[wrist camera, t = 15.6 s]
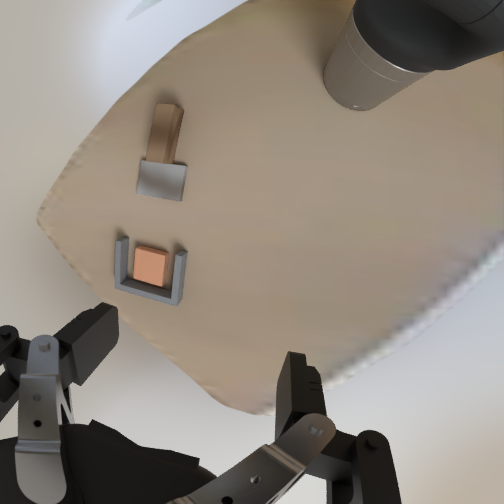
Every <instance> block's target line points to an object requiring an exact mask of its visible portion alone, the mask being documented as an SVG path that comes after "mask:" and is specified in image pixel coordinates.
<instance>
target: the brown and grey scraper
mask: <svg viewBox="0 0 504 504" xmlns="http://www.w3.org/2000/svg"><path fill="white" fill-rule="evenodd" d="M183 114H184V110H183V109H181V108H179V107H178V106H176V105H174V104H157V106H156V110H155V115H154V119H153V124H152V129H151V134H150V139H149V144H148V149H147V155H146V161H145V160H141V166H140V172H139V179H138V186H137V194H140V195H146V196H152V197H158V198H163V199H169V200H174V201H182V197H183V190H184V184H185V178H186V173H187V167H188V166H182V165H176V164H174V158H175V153H176V147H177V142H178V137H179V132H180V127H181V123H182V118H183Z"/></svg>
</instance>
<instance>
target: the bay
mask: <svg viewBox="0 0 504 504" xmlns="http://www.w3.org/2000/svg"><path fill="white" fill-rule="evenodd" d="M128 247H129V238H127V237H122V238H120V239H118V240H116V248H115V288H116V289H119V290H122V291H125V292H128V293H132V294H135V295H138V296H142V297H145V298H149V299H152V300H156V301H159V302H163V303H166V304H170V305H173V306H178V304H179V303H180V301H181V300H182V294H183V285H184V276H185V268H186V260H187V251H183V250H181V251H180V252H178V253H177V254H176V256H175V264H174V274H173V284H172V291H170V290H166V289H162V288H159V287H155V286H151V285H148V284H144V283H140V282H137V281H133V280H130V279H127V266H128Z"/></svg>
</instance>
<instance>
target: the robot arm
mask: <svg viewBox="0 0 504 504" xmlns="http://www.w3.org/2000/svg"><path fill="white" fill-rule="evenodd" d="M501 51H504V0H356V2H355V4H354V6H353V9H352V11H351V13H350V15H349V17H348V19H347V22H346V24H345V26H344V28H343V30H342V33H341V35H340V37H339V39H338V41H337V43H336V45H335V48H334V50H333V52H332V54H331V56H330V58H329V60H328V63H327V65H326V67H325V70H324V83H325V86H326V88H327V90H328V92H329V94H330V95H331V96H332V97H333V99H335V100H336V101H337V102H338V103H339V104H341V105H343V106H344V107H346V108H349V109H352V110H357V111H365V110H370V109H372V108H374V107H376V106H378V105H379V104H381V103H382V102H384V101H386V100H387V99H389V98H390V97H392V96H393V95H395V94H397V93H398V92H400V91H401V90H403V89H405V88H406V87H408V86H409V85H411V84H413V83H414V82H416V81H418V80H419V79H421V78H423V77H424V76H426V75H427V74H429V73H431V72H432V71H434V70H451V69H454V68H457V67H459V66H462V65H464V64H467V63H469V62H472V61H475V60H478V59H480V58H483V57H486V56H489V55H492V54H495V53H498V52H501ZM118 326H119V325H118V309H117V307H115V306H113V305H110V304H107V303H104V302H102V303H100V304H99V305H98V306H96V307H95V308H94V309H89V310H86V311H83V312H81V313H80V314H79V315H78V316H77V317H76V318H74V319H73V320H72V321H71V322H70V323H68V324H67V325H66V326H64V327H63V328H62V329H61V330H60V331H58V332H57V333H56V334H55V335H53V336H50V335H40V336H37V337H35V338H34V339H32V341H30V340H26V339H22V338H20V337H19V333H18V330H17V329H16V328H15V327H13V326H10V325H4V326H1V327H0V366H1V365H2V364H3V365H4V368H5V371H4V372H3V373H2V375H0V422H1V420H2V419H3V418H4V417H5V415H6V414H7V413H8V412H9V411H10V409H11V408H12V407H13V406H14V404H15V403H16V402H17V401H18V436H17V437H13V438H8V439H3V440H0V504H275V503H276V502H277V501H278V500H279V499H280V498H281V497H282V496H283V495H284V494H285V493H286V492H287V491H289V490H290V489H291V487H293V486H294V485H295V484H296V483H297V482H298V481H299V480H300V479H301V478H302V477H303V476H304V475H305V474H309V475H312V476H315V477H319V478H322V479H325V480H326V482H327V504H401V498H400V492H399V487H398V482H397V477H396V472H395V467H394V463H393V459H392V454H391V450H390V445H389V442H388V440H387V438H386V437H385V436H384V435H382V434H381V433H379V432H377V431H373V430H366V431H363V432H361V433H360V434H359V435H358V436H354V435H350V434H347V433H344V432H341V431H339V430H337V429H336V427H335V424H334V423H333V421H332V420H331V419H329V418H328V417H327V415H326V408H325V401H324V395H323V392H322V391H323V389H322V385H321V384H322V383H321V377H320V374H319V372H318V371H317V370H316V368H315V367H313V366H307V363H306V355H305V354H302V353H296V352H290V351H289V352H288V353H287V355H286V358H285V361H284V364H283V367H282V370H281V373H280V375H279V379H278V383H277V392H276V422H275V423H276V424H275V442H273V443H272V444H271V445H267V444H265V445H263V446H262V447H260V448H258V449H257V450H256V451H254V452H253V453H252V454H250V455H249V456H248V457H246V458H245V459H244V460H242V461H241V462H239V463H238V464H237V465H235V466H234V467H232V468H231V469H229V470H228V471H226V472H225V473H223V474H222V475H220V476H219V477H216V476H215V475H214V474H213V473H211V472H210V471H208V470H207V469H205V468H203V467H201V466H199V460H200V458H197V457H193V456H189V455H185V454H182V453H178V452H175V451H172V450H163V449H155V448H148V447H142V446H139V445H137V444H136V443H134V442H133V441H131V440H129V439H128V438H127V437H125V436H124V435H122V434H121V433H119V432H118V431H117V430H115V429H112V428H110V427H108V426H105V425H104V424H101V423H99V422H97V421H95V420H93V419H92V421H91V422H90V423H89V425H84V424H75V422H74V417H73V409H72V400H71V391H70V386H69V385H70V384H71V383H72V382H74V383H76V384H77V385H79V386H81V385H82V384H83V383H84V382H85V380H87V378H88V377H89V376H90V375H91V373H92V372H93V371H94V370H95V369H96V368H97V366H98V365H99V364H100V362H102V360H103V359H104V358H105V357H106V356H107V355H108V353H109V352H110V351H111V350H112V349H113V348H114V347H115V345H116V344H117V341H118V337H119V327H118Z"/></svg>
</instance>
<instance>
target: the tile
mask: <svg viewBox="0 0 504 504" xmlns="http://www.w3.org/2000/svg"><path fill="white" fill-rule="evenodd" d="M168 259H169V253H168V252H164V251H160V250H156V249H152V248H148V247H145V246H141V245H140V246H139V247H137V248H136V250H135V263H134V279H138V280H141V281H144V282H148V283H151V284H154V285H158V286H161V287H162V286H163V285H164V284H165V283H166V276H167V267H168Z"/></svg>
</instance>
